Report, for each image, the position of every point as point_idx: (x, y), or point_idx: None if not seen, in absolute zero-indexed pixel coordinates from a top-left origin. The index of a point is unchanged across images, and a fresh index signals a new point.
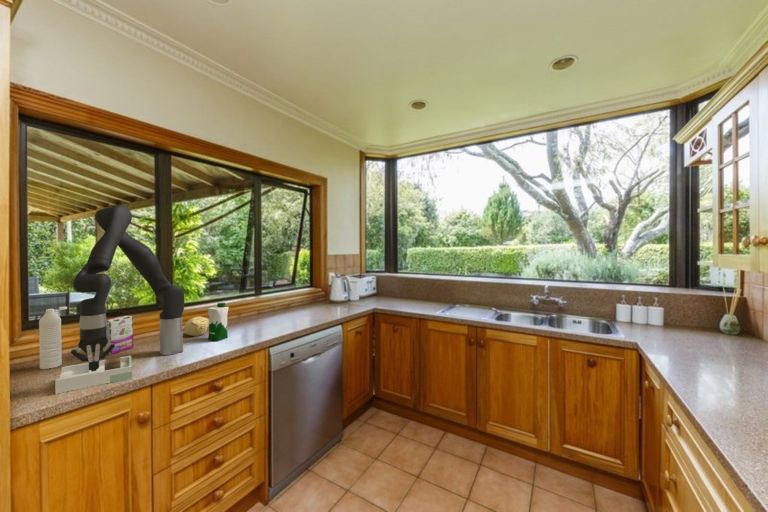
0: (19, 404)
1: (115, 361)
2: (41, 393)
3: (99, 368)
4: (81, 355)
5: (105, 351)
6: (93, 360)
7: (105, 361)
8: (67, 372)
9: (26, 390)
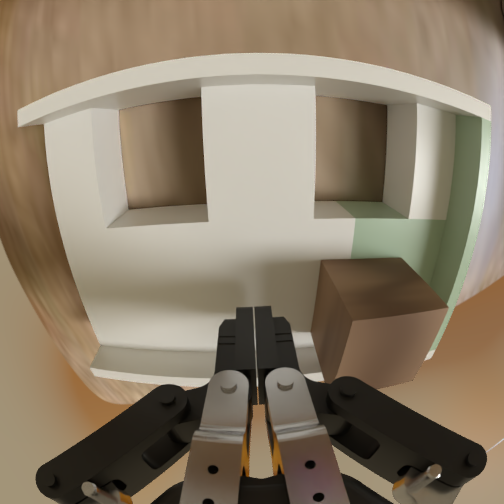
0: (56, 341)
1: (391, 384)
2: (61, 280)
3: (279, 157)
4: (156, 472)
5: (368, 462)
6: (251, 370)
7: (342, 364)
8: (70, 135)
9: (3, 204)
